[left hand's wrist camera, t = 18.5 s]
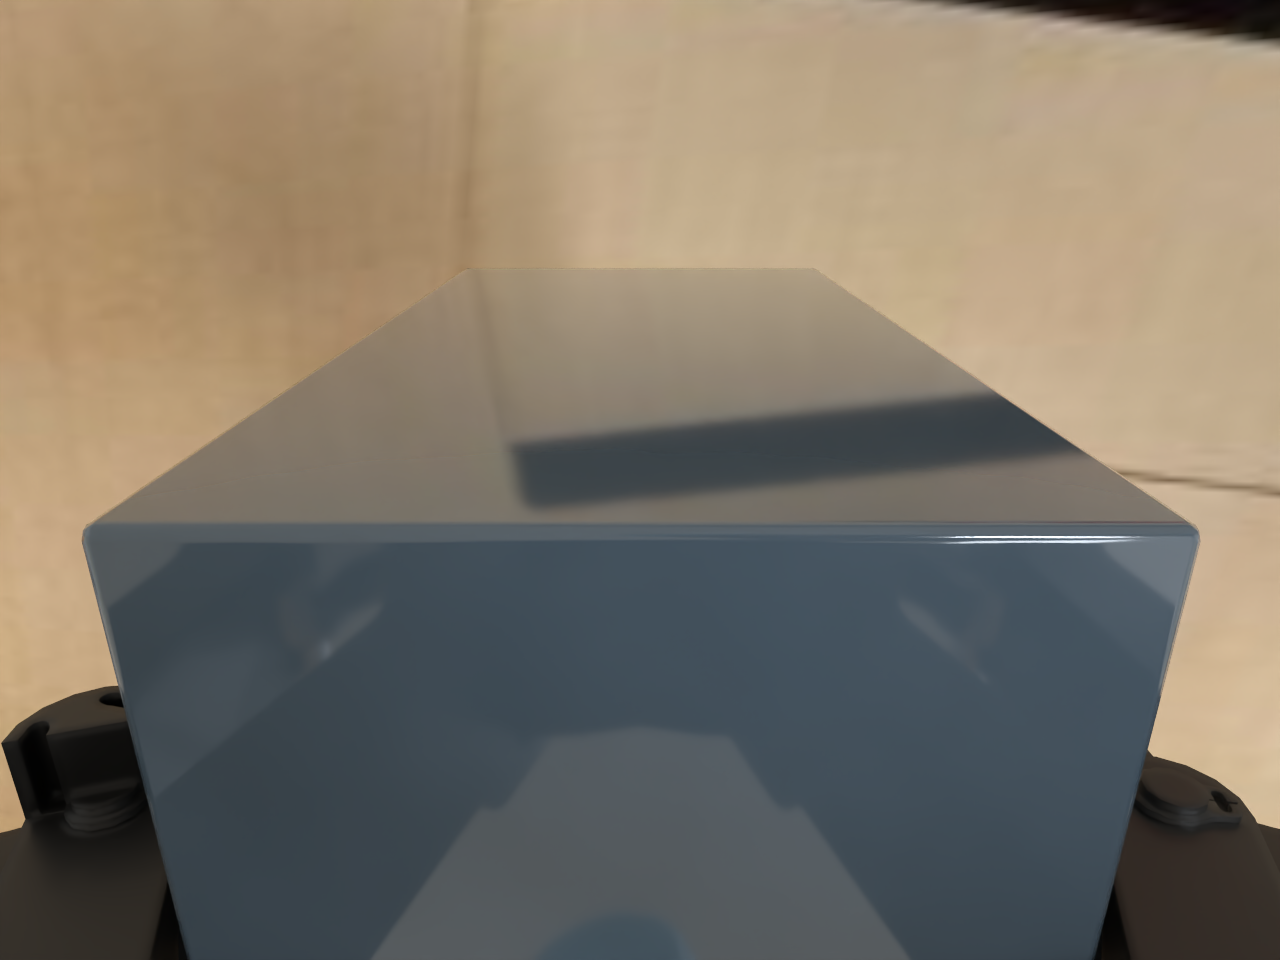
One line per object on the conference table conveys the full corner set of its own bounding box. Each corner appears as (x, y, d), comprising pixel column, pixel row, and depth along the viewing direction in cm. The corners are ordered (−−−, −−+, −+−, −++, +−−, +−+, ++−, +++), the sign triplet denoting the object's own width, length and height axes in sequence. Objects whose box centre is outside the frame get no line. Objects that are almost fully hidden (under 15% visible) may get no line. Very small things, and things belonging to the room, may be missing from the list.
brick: (463, 267, 15) (70, 527, 5) (817, 267, 15) (1212, 527, 5) (493, 688, 18) (296, 1408, 8) (787, 688, 18) (984, 1409, 8)
